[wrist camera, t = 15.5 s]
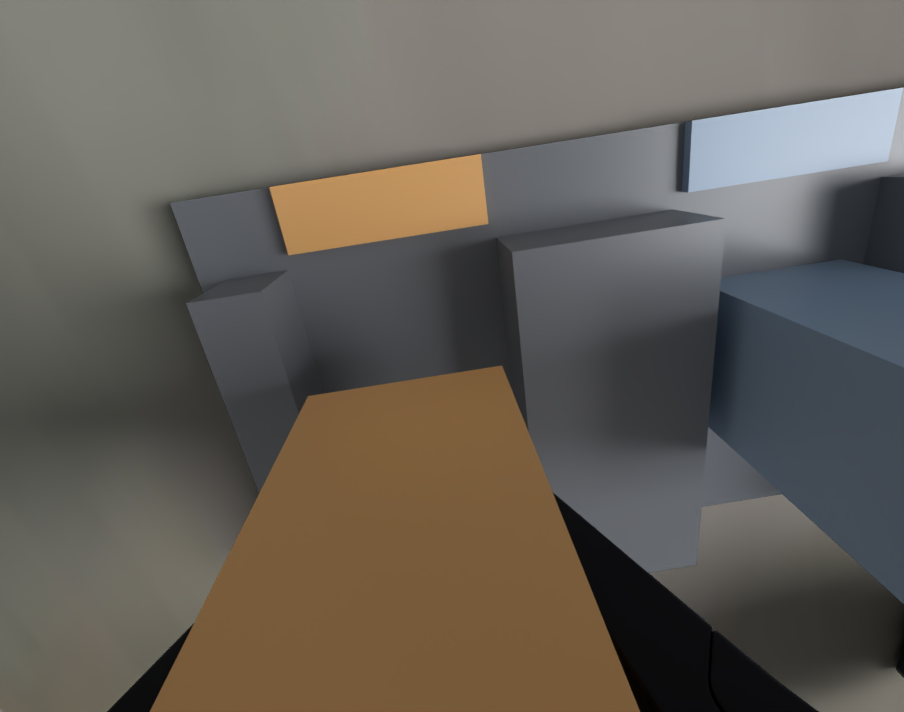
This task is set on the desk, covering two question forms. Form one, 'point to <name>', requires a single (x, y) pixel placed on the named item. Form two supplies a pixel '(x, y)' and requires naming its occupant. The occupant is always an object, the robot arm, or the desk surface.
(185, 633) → the robot arm
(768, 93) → the desk surface
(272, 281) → the grey slotted base
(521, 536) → the tan rectangular box
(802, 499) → the blue plug
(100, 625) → the desk surface
